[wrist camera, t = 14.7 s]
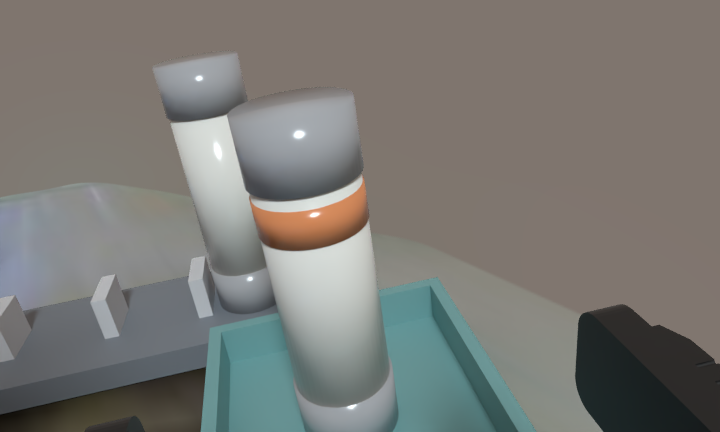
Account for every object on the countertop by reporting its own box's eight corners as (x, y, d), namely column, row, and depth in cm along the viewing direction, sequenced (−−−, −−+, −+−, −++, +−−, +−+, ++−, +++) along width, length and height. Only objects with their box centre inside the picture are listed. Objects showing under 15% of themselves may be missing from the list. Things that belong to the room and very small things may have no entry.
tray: (213, 609, 19) (190, 552, 17) (223, 373, 30) (209, 328, 28) (550, 513, 20) (551, 455, 19) (441, 322, 31) (437, 277, 30)
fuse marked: (309, 466, 22) (225, 133, 16) (299, 394, 26) (228, 101, 20) (410, 440, 23) (365, 106, 17) (385, 372, 26) (342, 80, 20)
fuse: (218, 320, 31) (146, 73, 26) (221, 283, 35) (158, 60, 29) (291, 304, 32) (237, 58, 26) (286, 269, 36) (237, 47, 30)
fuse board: (-246, 471, 28) (-297, 411, 26) (-146, 368, 35) (-180, 316, 33) (323, 339, 31) (312, 279, 29) (308, 270, 38) (298, 218, 37)
